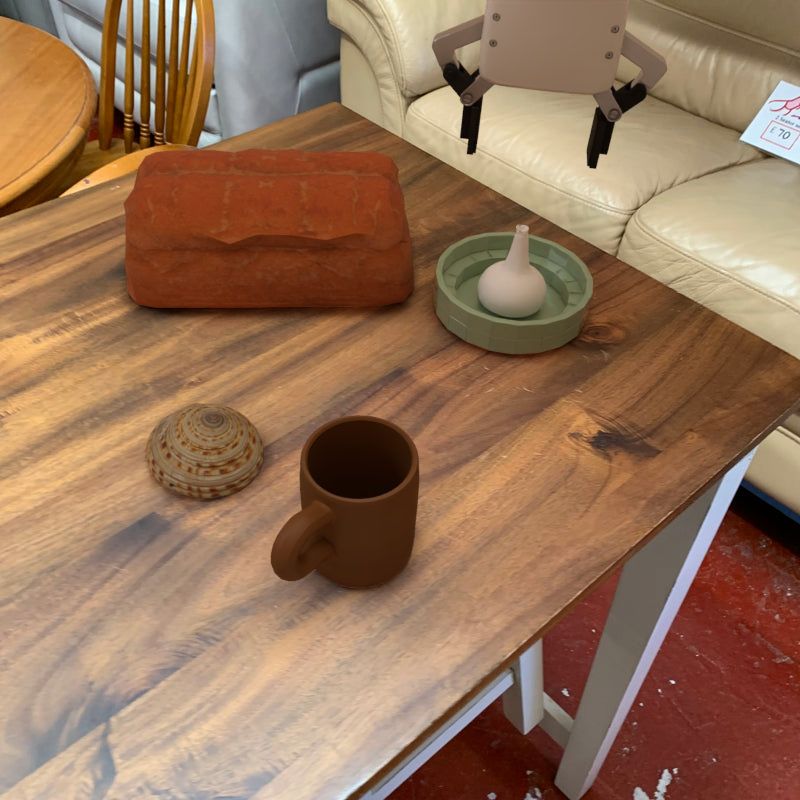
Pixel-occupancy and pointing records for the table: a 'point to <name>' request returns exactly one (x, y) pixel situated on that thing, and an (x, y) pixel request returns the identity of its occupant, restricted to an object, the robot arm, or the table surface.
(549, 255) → the bowl
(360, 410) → the table surface
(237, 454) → the seashell
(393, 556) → the mug
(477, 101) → the robot arm
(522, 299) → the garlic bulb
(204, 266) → the bread
